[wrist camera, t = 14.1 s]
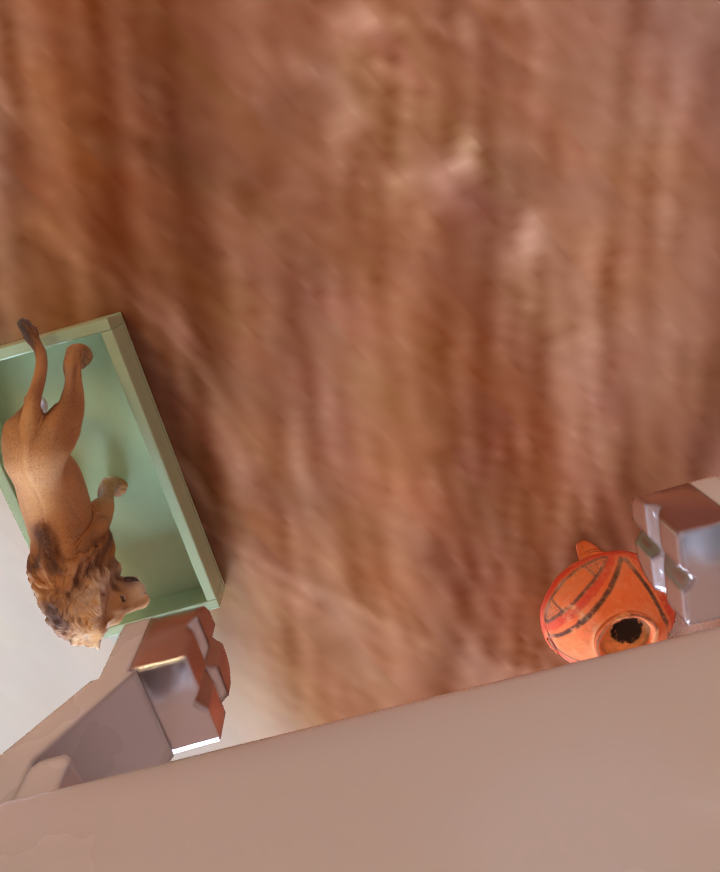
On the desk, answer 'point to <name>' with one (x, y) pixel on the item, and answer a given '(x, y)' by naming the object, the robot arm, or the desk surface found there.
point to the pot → (603, 606)
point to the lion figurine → (66, 508)
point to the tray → (122, 465)
